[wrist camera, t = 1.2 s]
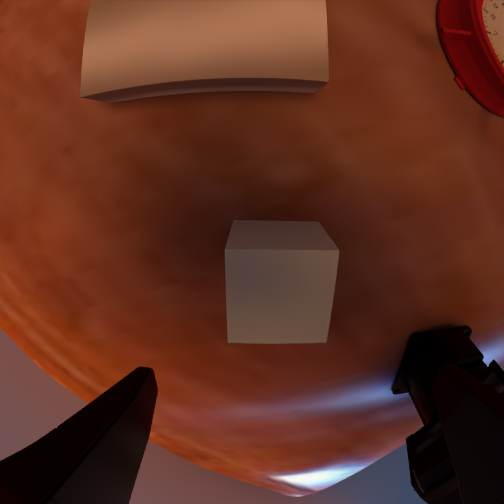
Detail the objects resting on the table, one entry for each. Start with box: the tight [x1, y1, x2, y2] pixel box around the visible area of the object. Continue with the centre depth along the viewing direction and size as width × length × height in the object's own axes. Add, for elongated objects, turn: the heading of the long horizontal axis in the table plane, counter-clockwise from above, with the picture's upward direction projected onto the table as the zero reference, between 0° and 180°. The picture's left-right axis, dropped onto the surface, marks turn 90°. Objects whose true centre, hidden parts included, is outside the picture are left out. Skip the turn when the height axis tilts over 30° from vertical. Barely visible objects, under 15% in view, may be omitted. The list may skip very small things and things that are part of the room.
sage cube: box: [225, 220, 339, 344], centre depth 16 cm, size 5×5×5 cm
